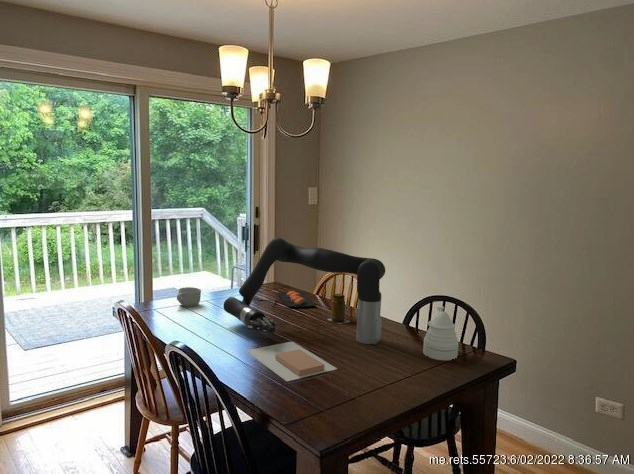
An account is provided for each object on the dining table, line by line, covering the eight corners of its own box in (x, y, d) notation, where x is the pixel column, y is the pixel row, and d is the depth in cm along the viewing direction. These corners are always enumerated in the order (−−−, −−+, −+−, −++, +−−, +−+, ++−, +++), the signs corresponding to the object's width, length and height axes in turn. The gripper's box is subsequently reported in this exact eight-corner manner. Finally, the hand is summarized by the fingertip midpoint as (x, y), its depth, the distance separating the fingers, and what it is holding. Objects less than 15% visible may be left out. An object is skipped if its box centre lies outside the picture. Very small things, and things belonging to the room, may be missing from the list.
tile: (275, 354, 169) (299, 370, 156) (299, 349, 174) (324, 364, 161) (275, 359, 169) (299, 376, 156) (299, 354, 175) (324, 370, 162)
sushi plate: (316, 309, 239) (316, 301, 238) (256, 311, 230) (256, 304, 230) (302, 294, 266) (302, 287, 266) (248, 296, 258) (248, 289, 258)
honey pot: (416, 349, 186) (419, 304, 184) (443, 346, 191) (446, 302, 189) (436, 362, 175) (440, 314, 172) (464, 358, 180) (468, 311, 177)
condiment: (338, 317, 225) (339, 292, 223) (351, 321, 218) (352, 296, 217) (326, 319, 220) (327, 294, 219) (339, 324, 214) (340, 298, 212)
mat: (245, 353, 177) (245, 350, 177) (292, 343, 188) (292, 341, 188) (286, 384, 152) (286, 381, 152) (337, 371, 163) (337, 368, 163)
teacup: (191, 301, 243) (191, 285, 242) (205, 305, 237) (205, 289, 236) (168, 306, 232) (168, 290, 231) (182, 311, 225) (182, 294, 224)
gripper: (237, 311, 190) (257, 323, 176) (267, 306, 197) (288, 318, 183) (237, 329, 191) (257, 343, 177) (266, 324, 198) (288, 337, 184)
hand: (273, 330), depth 180 cm, fingers closed
